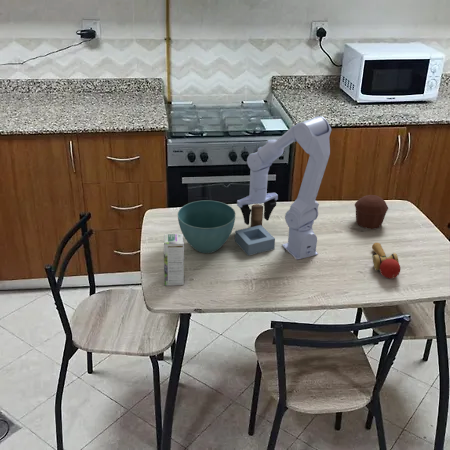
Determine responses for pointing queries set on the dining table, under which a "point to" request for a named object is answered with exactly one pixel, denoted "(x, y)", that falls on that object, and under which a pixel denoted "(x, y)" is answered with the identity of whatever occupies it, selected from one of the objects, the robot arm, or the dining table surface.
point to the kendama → (385, 262)
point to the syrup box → (173, 259)
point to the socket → (254, 240)
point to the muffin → (370, 211)
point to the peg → (256, 215)
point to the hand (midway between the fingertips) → (256, 221)
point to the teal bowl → (206, 224)
